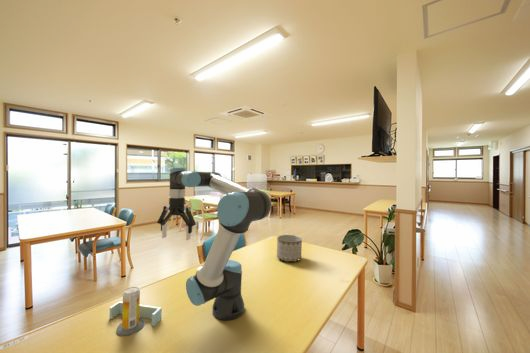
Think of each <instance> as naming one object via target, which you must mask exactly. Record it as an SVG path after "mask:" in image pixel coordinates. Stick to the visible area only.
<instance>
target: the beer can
mask: <svg viewBox="0 0 530 353" xmlns="http://www.w3.org/2000/svg"><path fill="white" fill-rule="evenodd" d="M140 295H141V290H140V288H139V287H138V286H131V287H128V288H126V289H125V290H123V294H122V302H123V310H122V314H121V316H122V317H121V318H122V319H121V323H122V327H123V328H124V329H125V330H130V329H133V328H135V327H136V326H137V324H138V323H139V318H140V317H139V306H140V301H141V300H140V298H141V296H140Z"/></svg>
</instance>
